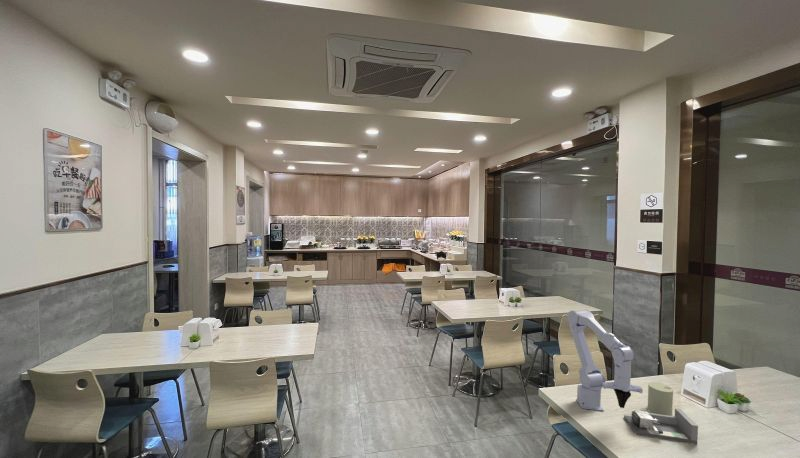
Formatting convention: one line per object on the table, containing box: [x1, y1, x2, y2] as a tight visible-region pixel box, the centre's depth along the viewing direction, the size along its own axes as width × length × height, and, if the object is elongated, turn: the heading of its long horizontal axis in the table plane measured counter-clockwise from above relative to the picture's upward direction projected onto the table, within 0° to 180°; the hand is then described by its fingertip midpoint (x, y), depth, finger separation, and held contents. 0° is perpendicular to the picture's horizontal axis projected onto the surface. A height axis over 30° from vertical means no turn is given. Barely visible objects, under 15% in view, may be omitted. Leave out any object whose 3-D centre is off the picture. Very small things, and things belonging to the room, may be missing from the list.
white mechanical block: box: [631, 409, 660, 433], centre depth 138 cm, size 9×10×4 cm
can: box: [646, 381, 674, 416], centre depth 153 cm, size 9×9×12 cm
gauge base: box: [623, 408, 699, 445], centre depth 139 cm, size 21×12×7 cm, turn 76°
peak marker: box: [656, 426, 663, 434], centre depth 135 cm, size 1×3×1 cm, turn 166°
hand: (621, 406), depth 142 cm, fingers closed
